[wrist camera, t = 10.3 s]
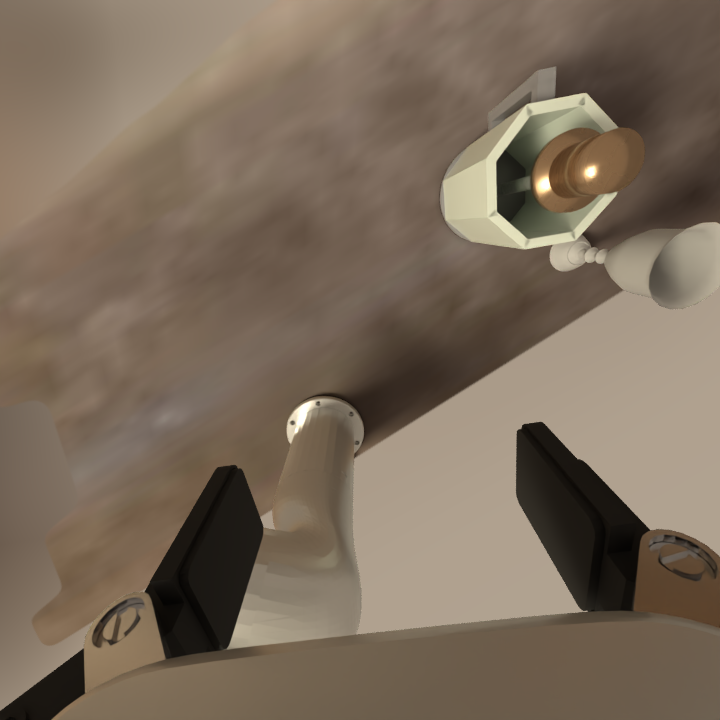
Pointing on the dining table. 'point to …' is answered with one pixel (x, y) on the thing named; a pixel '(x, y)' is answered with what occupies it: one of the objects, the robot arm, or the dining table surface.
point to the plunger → (581, 168)
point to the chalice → (655, 263)
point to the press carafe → (518, 169)
